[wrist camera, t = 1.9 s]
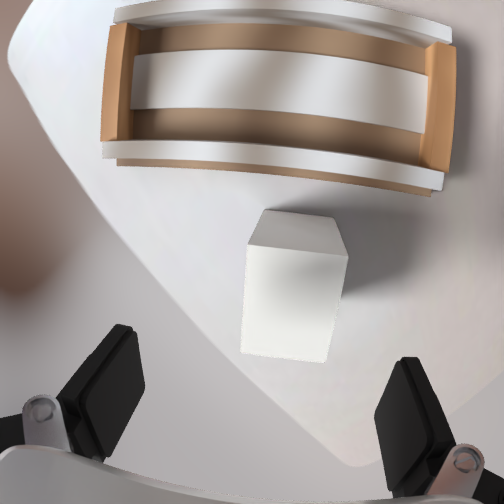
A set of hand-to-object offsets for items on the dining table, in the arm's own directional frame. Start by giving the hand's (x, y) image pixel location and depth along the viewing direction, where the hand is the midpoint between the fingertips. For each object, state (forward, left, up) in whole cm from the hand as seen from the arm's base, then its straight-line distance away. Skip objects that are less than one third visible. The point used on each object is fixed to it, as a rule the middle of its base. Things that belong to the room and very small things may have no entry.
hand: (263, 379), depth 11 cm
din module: (-1, 0, -12) cm, 12 cm away
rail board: (+1, -11, -12) cm, 16 cm away
